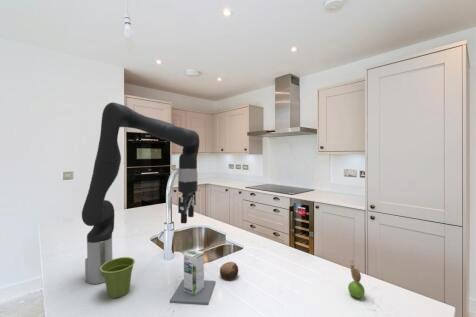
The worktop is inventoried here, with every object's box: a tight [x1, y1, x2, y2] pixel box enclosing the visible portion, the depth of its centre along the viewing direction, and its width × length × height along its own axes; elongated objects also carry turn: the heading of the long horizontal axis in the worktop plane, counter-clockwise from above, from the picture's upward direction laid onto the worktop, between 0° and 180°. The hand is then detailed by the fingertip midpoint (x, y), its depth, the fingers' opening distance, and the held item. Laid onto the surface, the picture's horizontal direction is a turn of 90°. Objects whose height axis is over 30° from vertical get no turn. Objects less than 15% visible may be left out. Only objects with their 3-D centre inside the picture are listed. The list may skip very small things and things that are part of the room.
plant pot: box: [100, 256, 136, 299], centre depth 88 cm, size 12×12×11 cm
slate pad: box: [169, 278, 217, 306], centre depth 89 cm, size 14×14×1 cm
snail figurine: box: [347, 260, 365, 299], centre depth 86 cm, size 5×6×12 cm
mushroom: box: [219, 261, 239, 281], centre depth 100 cm, size 8×8×6 cm
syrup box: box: [183, 248, 205, 295], centre depth 89 cm, size 6×6×14 cm
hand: (187, 219), depth 92 cm, fingers open, 8 cm apart
